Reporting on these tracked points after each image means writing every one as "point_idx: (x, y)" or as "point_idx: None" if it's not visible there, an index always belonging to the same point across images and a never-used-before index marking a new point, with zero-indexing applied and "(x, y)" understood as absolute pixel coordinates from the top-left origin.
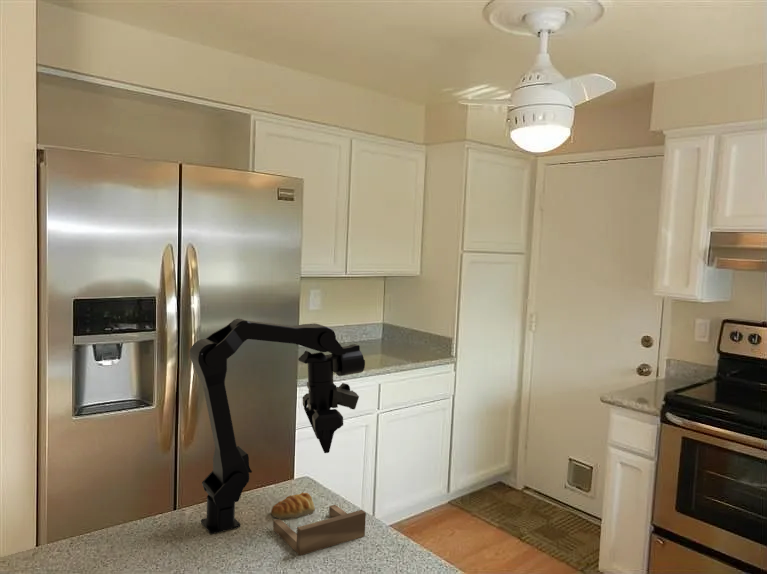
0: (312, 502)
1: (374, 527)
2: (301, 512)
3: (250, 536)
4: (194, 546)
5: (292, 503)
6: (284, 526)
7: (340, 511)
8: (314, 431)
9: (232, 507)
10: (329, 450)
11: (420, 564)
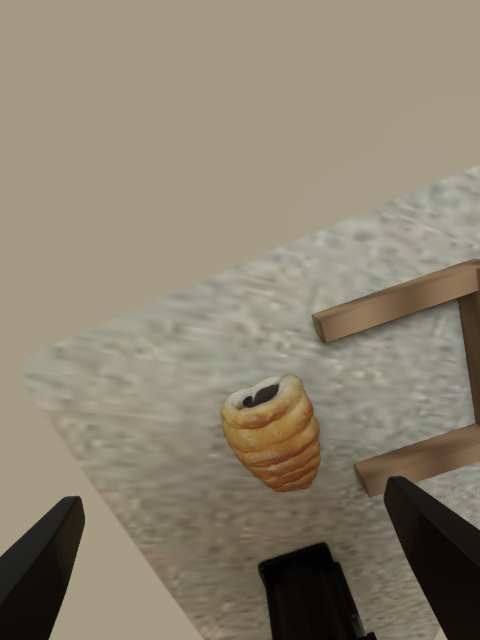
0: (294, 392)
1: (435, 213)
2: (315, 417)
3: (372, 521)
4: (377, 609)
5: (306, 455)
6: (410, 474)
7: (374, 314)
8: (55, 616)
9: (353, 617)
10: (417, 486)
11: None
